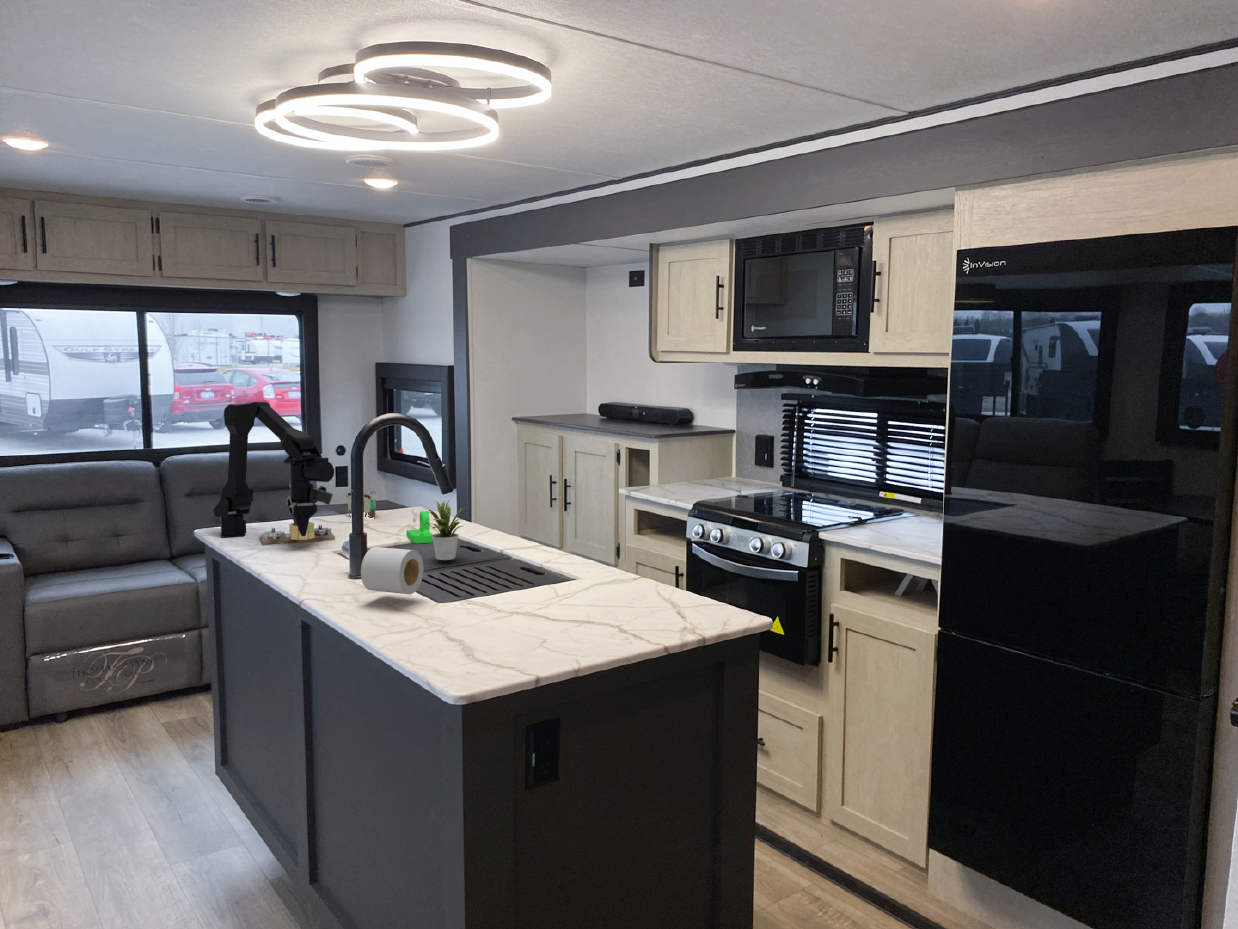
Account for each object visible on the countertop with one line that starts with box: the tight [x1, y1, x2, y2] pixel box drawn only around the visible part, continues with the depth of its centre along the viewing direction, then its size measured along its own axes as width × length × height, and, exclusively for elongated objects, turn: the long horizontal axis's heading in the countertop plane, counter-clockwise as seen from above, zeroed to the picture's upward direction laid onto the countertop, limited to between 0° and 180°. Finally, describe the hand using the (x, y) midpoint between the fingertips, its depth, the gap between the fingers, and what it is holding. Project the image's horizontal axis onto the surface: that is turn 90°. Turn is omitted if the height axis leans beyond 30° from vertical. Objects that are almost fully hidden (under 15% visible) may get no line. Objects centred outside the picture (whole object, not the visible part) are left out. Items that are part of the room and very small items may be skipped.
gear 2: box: [314, 524, 332, 536], centre depth 272 cm, size 6×6×3 cm
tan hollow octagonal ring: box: [289, 521, 315, 540], centre depth 259 cm, size 6×6×4 cm
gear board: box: [259, 532, 336, 546], centre depth 269 cm, size 20×10×5 cm, turn 116°
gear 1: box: [261, 527, 286, 539], centre depth 267 cm, size 6×6×3 cm
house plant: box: [417, 498, 465, 561], centre depth 246 cm, size 14×14×16 cm
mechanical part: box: [405, 510, 433, 544], centre depth 273 cm, size 12×6×8 cm, turn 22°
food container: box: [345, 489, 379, 518], centre depth 303 cm, size 12×6×10 cm, turn 58°
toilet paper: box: [360, 546, 424, 595], centre depth 208 cm, size 10×10×10 cm
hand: (302, 534), depth 260 cm, fingers closed on tan hollow octagonal ring, 6 cm apart
